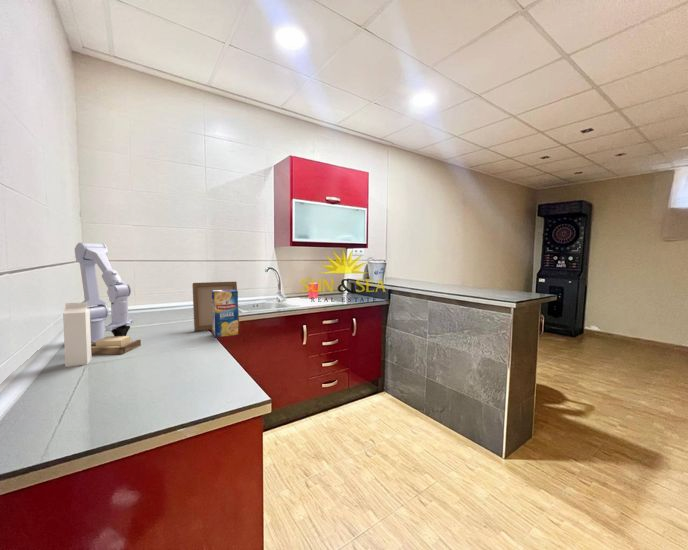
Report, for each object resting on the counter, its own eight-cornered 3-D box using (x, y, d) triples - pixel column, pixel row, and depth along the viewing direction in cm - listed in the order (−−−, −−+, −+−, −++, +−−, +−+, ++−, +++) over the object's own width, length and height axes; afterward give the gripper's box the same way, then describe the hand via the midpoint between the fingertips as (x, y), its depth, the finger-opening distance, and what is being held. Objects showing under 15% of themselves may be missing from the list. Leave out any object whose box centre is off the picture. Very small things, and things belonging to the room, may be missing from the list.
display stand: (80, 354, 116) (79, 347, 116) (102, 345, 127) (101, 339, 127) (122, 354, 117) (122, 347, 117) (140, 345, 128) (140, 339, 128)
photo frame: (239, 327, 162) (238, 282, 161) (195, 332, 151) (194, 283, 149) (233, 322, 175) (233, 280, 173) (192, 326, 163) (191, 281, 162)
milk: (87, 364, 106) (85, 303, 104) (64, 367, 103) (62, 304, 101) (91, 359, 111) (89, 301, 110) (70, 361, 108) (67, 302, 107)
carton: (96, 353, 118) (95, 341, 117) (106, 348, 125) (106, 336, 124) (121, 352, 119) (121, 340, 119) (130, 347, 126) (130, 335, 126)
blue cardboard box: (212, 334, 148) (211, 290, 147) (234, 331, 154) (234, 289, 153) (214, 337, 142) (214, 292, 141) (238, 334, 149) (238, 290, 147)
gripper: (117, 315, 120) (118, 348, 120) (140, 309, 134) (140, 338, 135) (99, 315, 119) (100, 348, 120) (123, 309, 134) (124, 338, 134)
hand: (120, 343), depth 127 cm, fingers closed
